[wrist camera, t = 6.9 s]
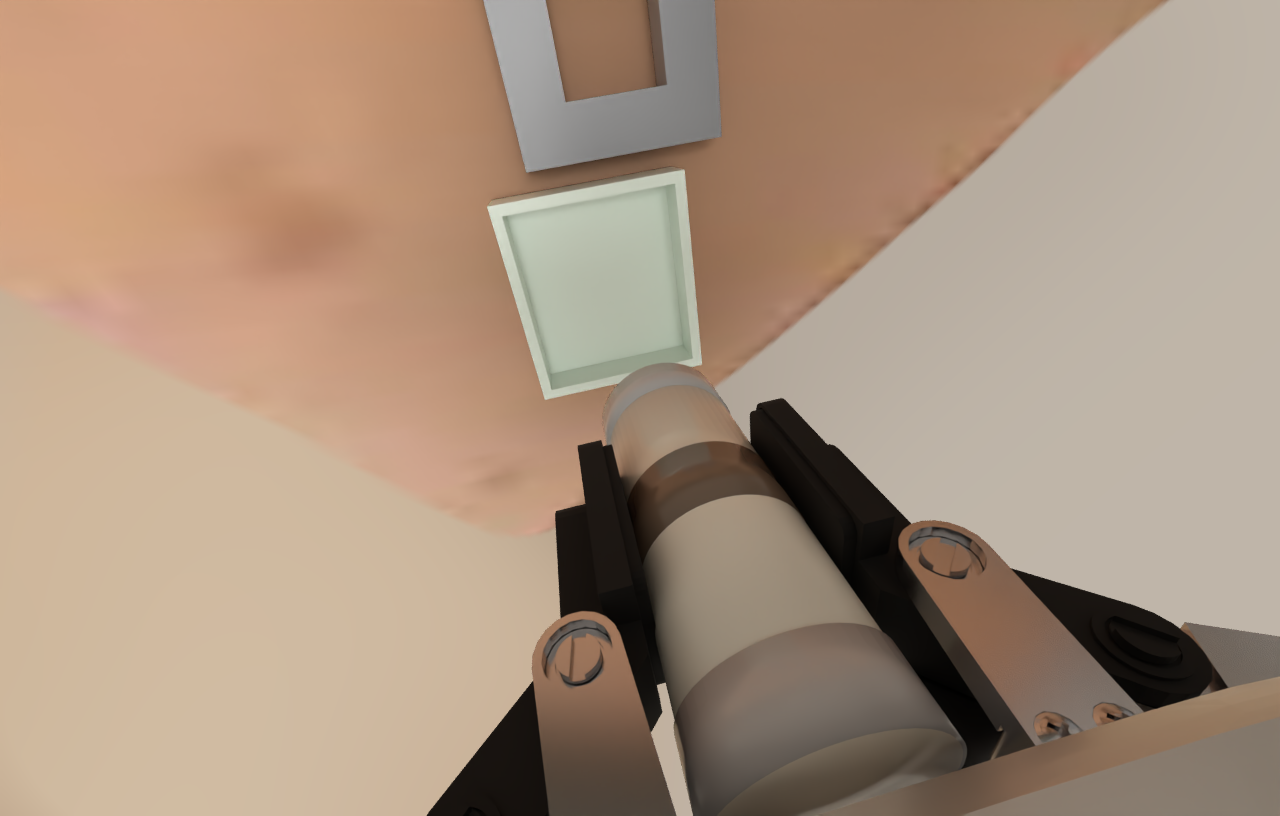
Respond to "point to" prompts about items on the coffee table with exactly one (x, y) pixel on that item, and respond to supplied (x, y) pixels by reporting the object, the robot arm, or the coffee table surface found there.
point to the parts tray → (602, 277)
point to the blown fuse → (759, 622)
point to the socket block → (614, 120)
